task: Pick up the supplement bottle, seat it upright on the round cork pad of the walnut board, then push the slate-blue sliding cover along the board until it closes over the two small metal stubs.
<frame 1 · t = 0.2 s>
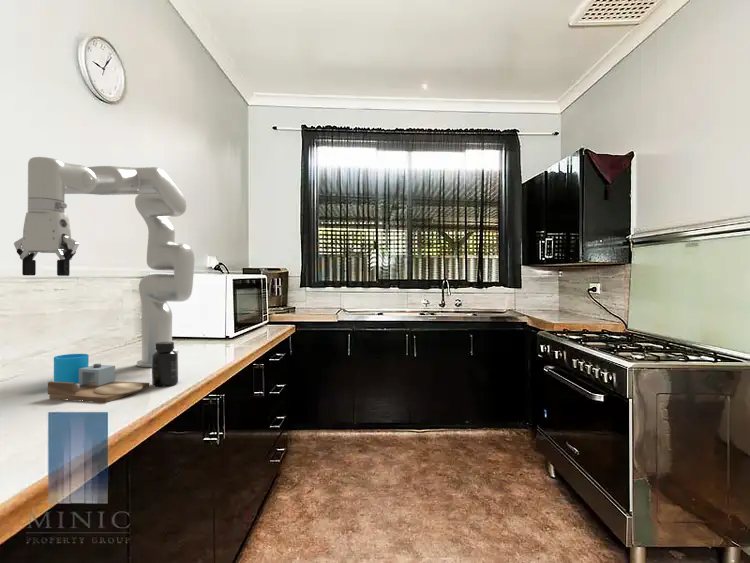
hand: (46, 275, 114), 31 cm above the worktop, tool pointing down, fingers open, 9 cm apart
supplement bottle: (165, 385, 129), on the worktop
board: (102, 392, 119), on the worktop
cover: (97, 373, 124), point 4 cm above the worktop, slide at 0.0 cm
mug: (74, 384, 129), on the worktop
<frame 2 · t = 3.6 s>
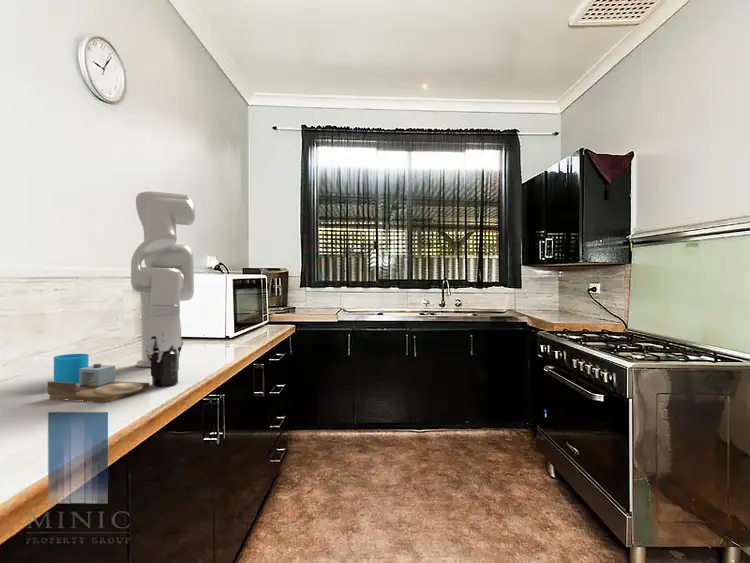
hand: (165, 372, 129), 3 cm above the worktop, tool pointing down, fingers closed on supplement bottle, 6 cm apart
supplement bottle: (164, 385, 129), on the worktop, touching gripper
everything else where it was.
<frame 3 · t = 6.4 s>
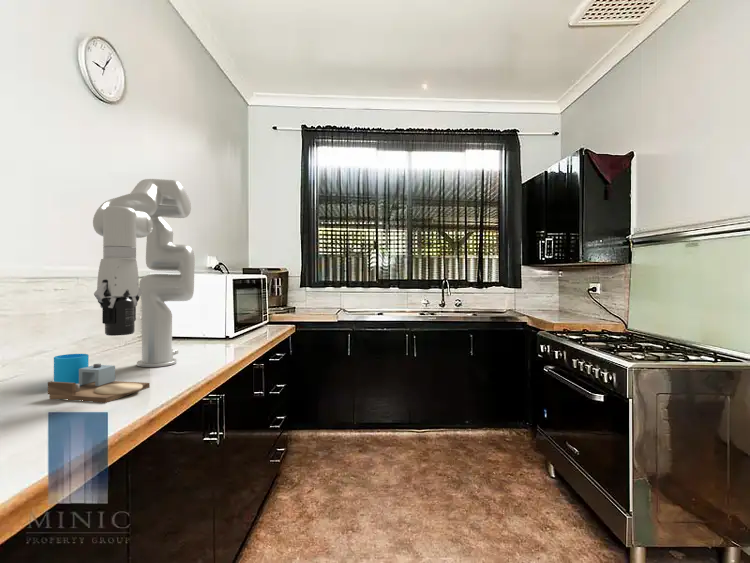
hand: (119, 321, 118), 19 cm above the worktop, tool pointing down, fingers closed on supplement bottle, 6 cm apart
supplement bottle: (119, 335, 118), point 15 cm above the worktop, touching gripper
everything else where it was.
when the fingers open (6 cm above the worktop, at t = 9.2 s): supplement bottle drops 1 cm, resting on board.
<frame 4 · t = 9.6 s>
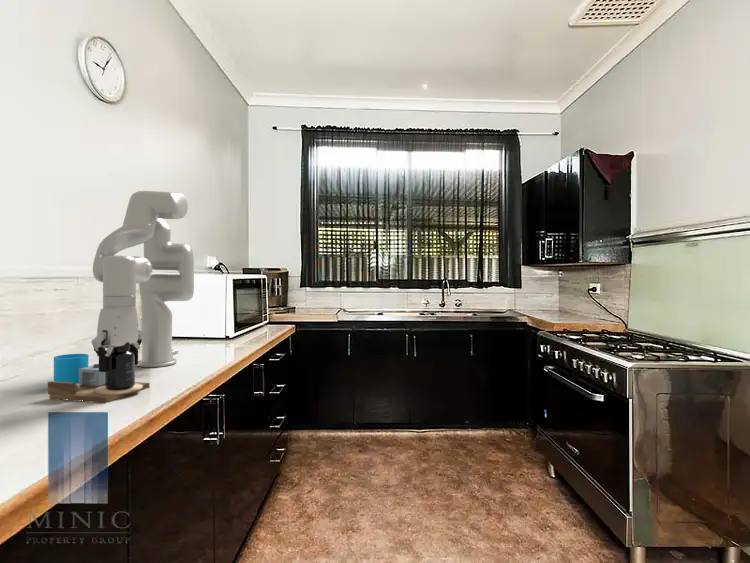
hand: (119, 368, 118), 7 cm above the worktop, tool pointing down, fingers open, 9 cm apart
supplement bottle: (120, 388, 118), point 1 cm above the worktop, touching board
everything else where it was.
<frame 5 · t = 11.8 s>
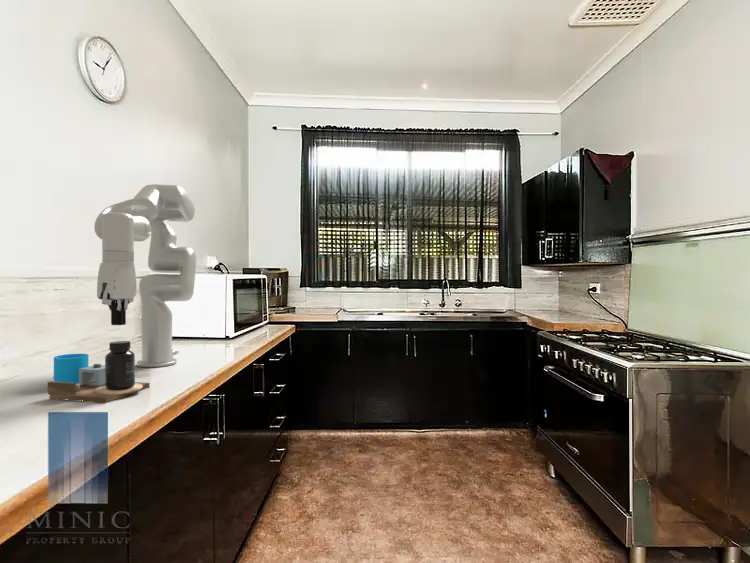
hand: (118, 324, 124), 18 cm above the worktop, tool pointing down, fingers closed
nothing on the worktop moved.
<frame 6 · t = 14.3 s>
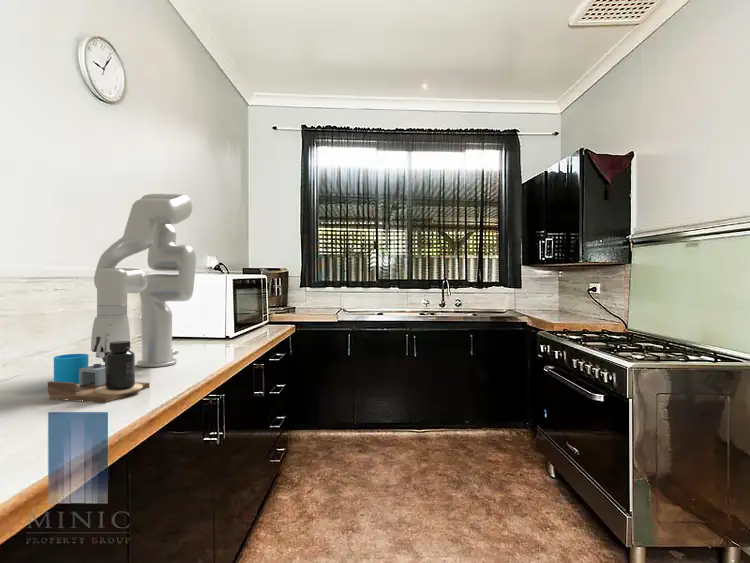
hand: (111, 375, 129), 2 cm above the worktop, tool pointing down, fingers closed
cover: (97, 373, 124), point 4 cm above the worktop, slide at 0.0 cm, touching gripper
everything else where it was.
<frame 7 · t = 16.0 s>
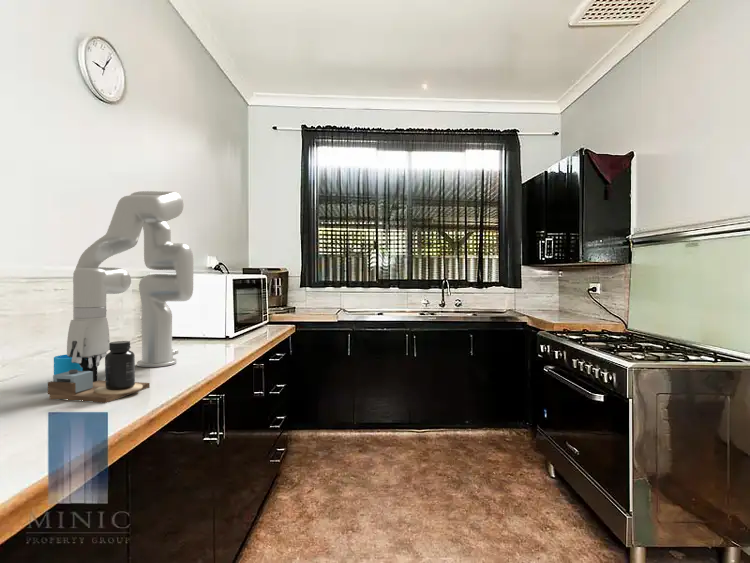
hand: (89, 381, 121), 2 cm above the worktop, tool pointing down, fingers closed
cover: (73, 380, 116), point 4 cm above the worktop, slide at 7.9 cm, touching gripper
everything else where it was.
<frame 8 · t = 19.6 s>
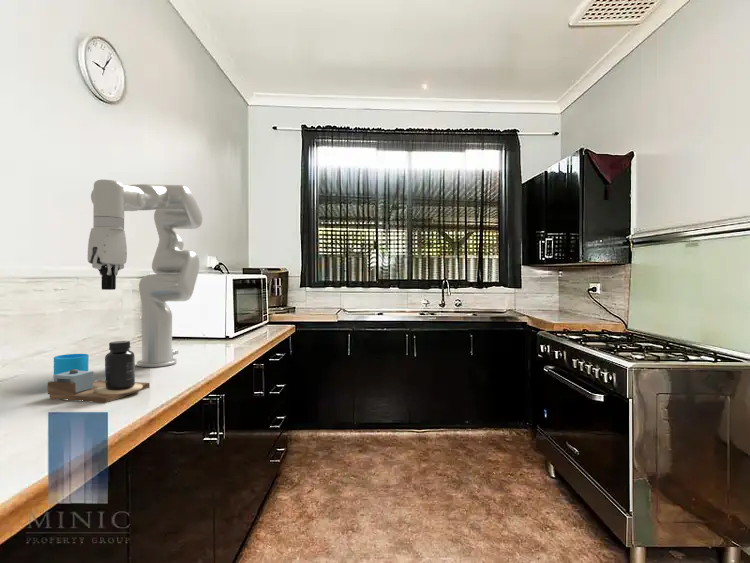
hand: (108, 289, 127), 27 cm above the worktop, tool pointing down, fingers closed
cover: (73, 379, 116), point 4 cm above the worktop, slide at 7.8 cm
everything else where it was.
at the end: supplement bottle inside the target area (0.3 cm from its centre), point 1.4 cm above the worktop; supplement bottle tilted 0°; cover slide at 7.8 cm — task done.
